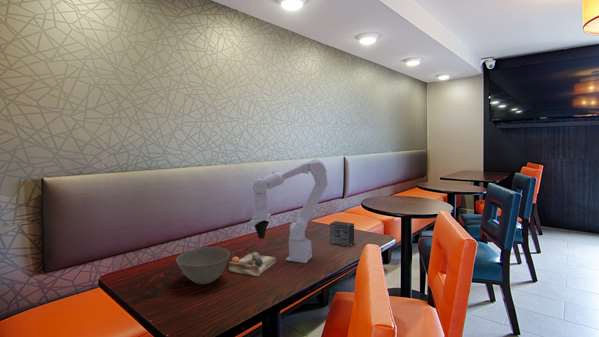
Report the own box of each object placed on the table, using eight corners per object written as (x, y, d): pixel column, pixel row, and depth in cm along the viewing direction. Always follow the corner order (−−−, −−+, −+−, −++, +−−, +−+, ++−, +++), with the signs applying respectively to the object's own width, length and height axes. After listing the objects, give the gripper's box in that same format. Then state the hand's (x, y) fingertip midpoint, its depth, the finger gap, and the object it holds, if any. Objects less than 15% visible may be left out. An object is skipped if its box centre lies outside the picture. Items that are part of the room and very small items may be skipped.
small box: (354, 243, 156) (354, 222, 155) (349, 247, 151) (349, 226, 150) (335, 240, 162) (335, 220, 161) (329, 244, 156) (329, 223, 156)
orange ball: (240, 263, 128) (240, 256, 128) (236, 266, 125) (236, 258, 125) (234, 262, 129) (234, 255, 129) (230, 264, 126) (230, 257, 126)
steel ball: (260, 258, 133) (260, 251, 132) (256, 261, 130) (256, 253, 130) (254, 257, 134) (253, 250, 134) (249, 260, 131) (249, 252, 131)
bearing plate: (275, 262, 134) (275, 254, 134) (257, 276, 120) (257, 267, 120) (249, 258, 139) (249, 250, 139) (229, 271, 125) (228, 262, 125)
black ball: (264, 265, 126) (264, 257, 125) (260, 267, 123) (260, 260, 123) (257, 264, 127) (257, 256, 127) (253, 266, 124) (253, 259, 124)
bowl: (176, 276, 121) (175, 251, 120) (225, 267, 129) (225, 244, 128) (178, 298, 104) (177, 269, 103) (235, 287, 111) (234, 259, 111)
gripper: (260, 203, 143) (261, 232, 144) (243, 210, 130) (244, 242, 131) (274, 204, 141) (275, 234, 142) (258, 211, 127) (259, 244, 128)
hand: (261, 238), depth 136 cm, fingers closed
